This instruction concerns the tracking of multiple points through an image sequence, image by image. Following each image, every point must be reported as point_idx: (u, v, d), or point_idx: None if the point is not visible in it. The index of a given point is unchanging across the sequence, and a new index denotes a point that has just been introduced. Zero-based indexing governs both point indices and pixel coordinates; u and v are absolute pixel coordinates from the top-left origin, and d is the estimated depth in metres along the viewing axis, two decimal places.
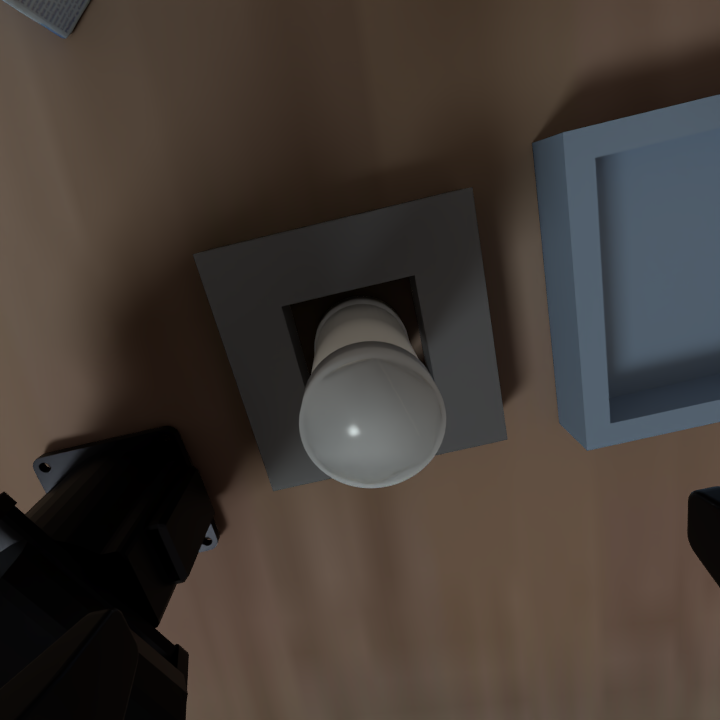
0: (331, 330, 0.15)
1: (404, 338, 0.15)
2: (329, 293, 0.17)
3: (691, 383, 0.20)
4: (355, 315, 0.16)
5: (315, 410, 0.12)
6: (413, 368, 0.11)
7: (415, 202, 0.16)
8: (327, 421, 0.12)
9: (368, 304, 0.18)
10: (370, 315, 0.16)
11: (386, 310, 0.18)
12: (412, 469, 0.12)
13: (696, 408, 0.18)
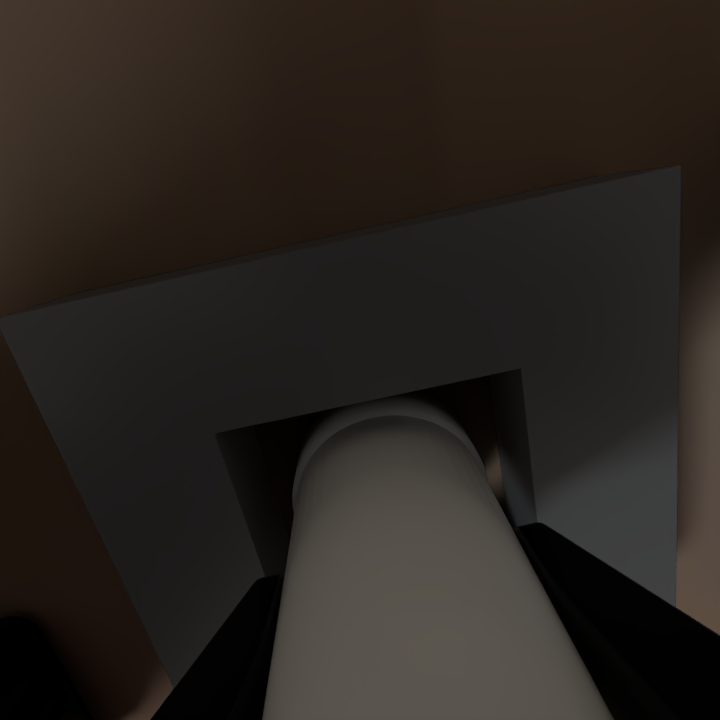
0: (327, 526, 0.06)
1: (528, 573, 0.05)
2: (324, 406, 0.07)
3: None
4: (387, 475, 0.06)
5: None
6: None
7: (538, 200, 0.06)
8: None
9: (408, 418, 0.08)
10: (425, 478, 0.06)
11: (446, 430, 0.08)
12: None
13: None
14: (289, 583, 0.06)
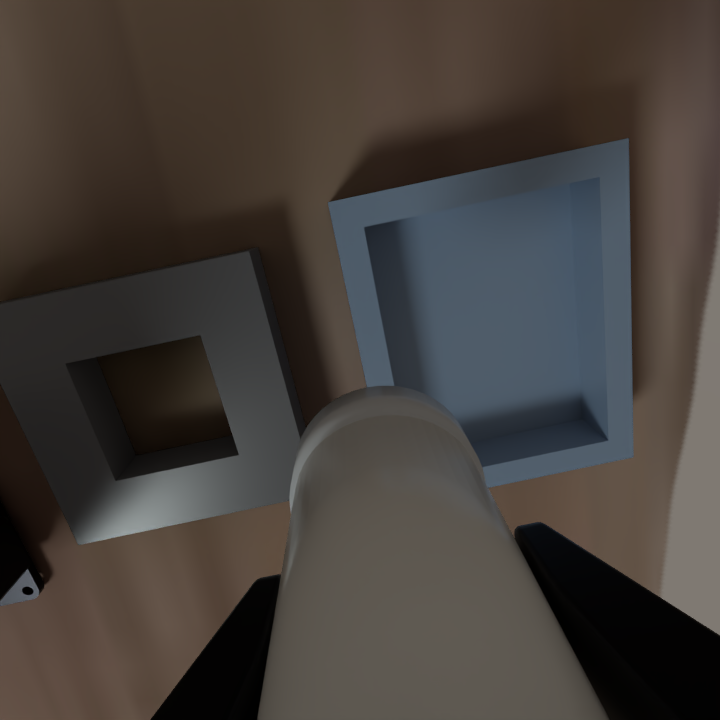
0: (324, 526, 0.06)
1: (525, 573, 0.05)
2: (113, 351, 0.16)
3: (506, 439, 0.20)
4: (384, 475, 0.06)
5: None
6: None
7: (192, 264, 0.16)
8: None
9: (406, 417, 0.08)
10: (422, 478, 0.06)
11: (443, 429, 0.08)
12: None
13: (497, 467, 0.18)
14: (285, 583, 0.06)
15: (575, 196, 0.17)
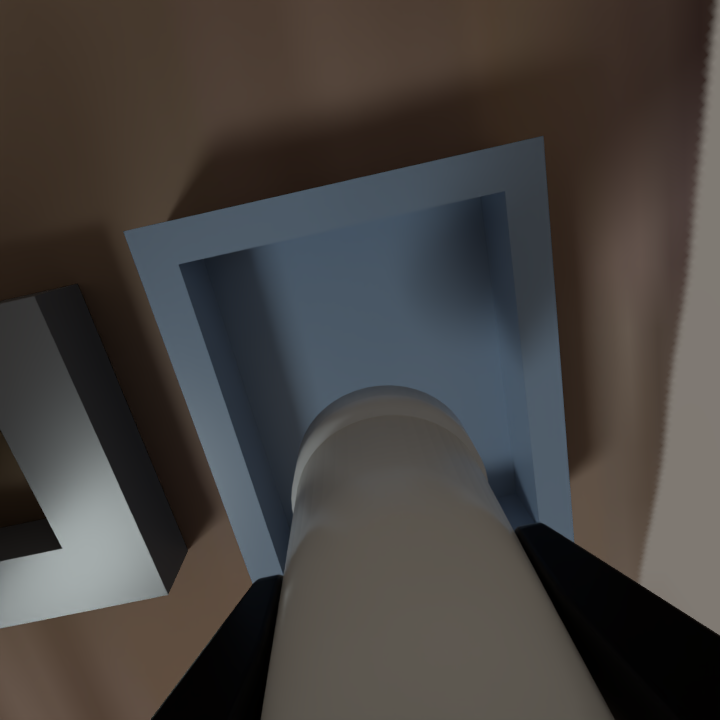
0: (326, 527, 0.06)
1: (529, 573, 0.05)
2: None
3: None
4: (387, 475, 0.06)
5: None
6: None
7: None
8: None
9: (408, 417, 0.08)
10: (425, 478, 0.06)
11: (446, 429, 0.08)
12: None
13: None
14: (288, 584, 0.06)
15: (486, 214, 0.12)
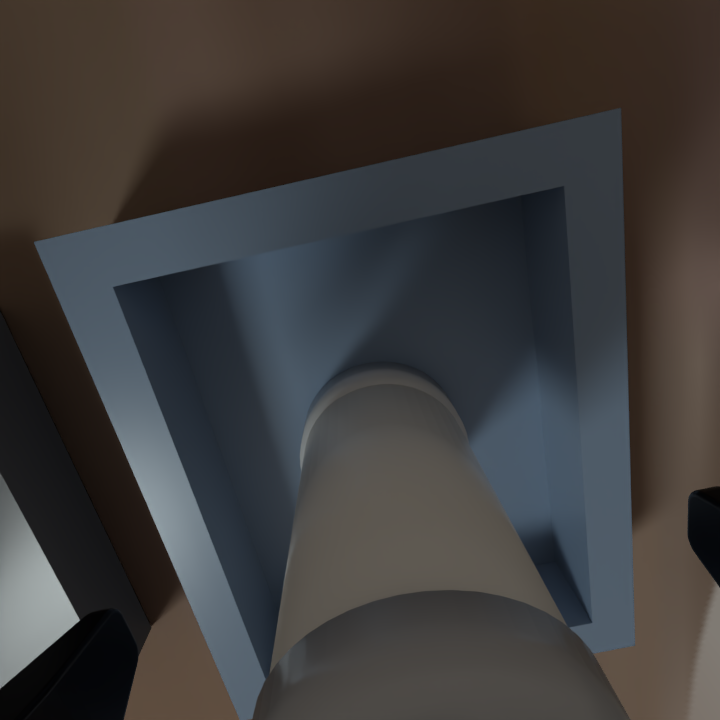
0: (331, 464, 0.07)
1: (491, 495, 0.07)
2: None
3: None
4: (380, 425, 0.08)
5: None
6: None
7: None
8: None
9: (399, 386, 0.10)
10: (411, 427, 0.08)
11: (432, 396, 0.10)
12: None
13: None
14: (300, 509, 0.07)
15: (529, 217, 0.09)
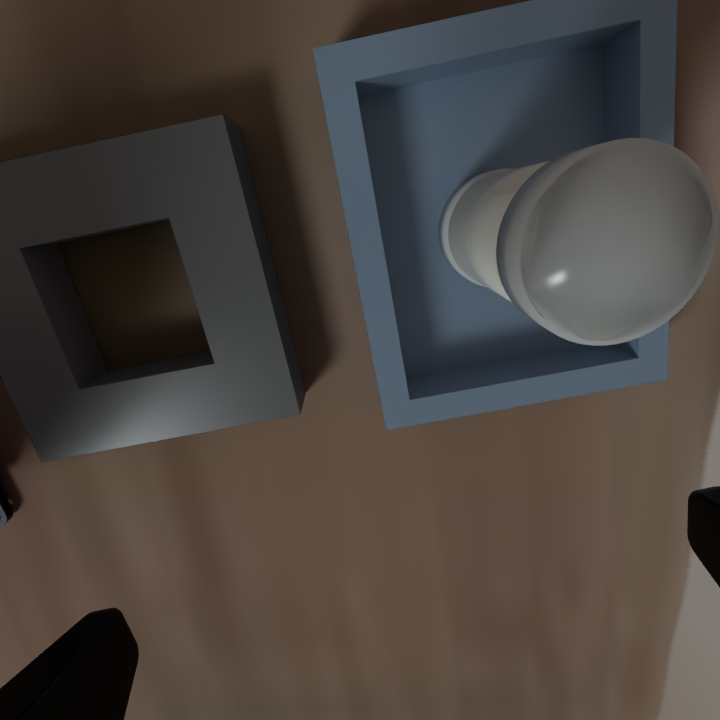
0: (497, 179, 0.12)
1: None
2: (72, 235, 0.15)
3: (519, 361, 0.17)
4: None
5: (543, 222, 0.08)
6: (687, 166, 0.08)
7: (158, 130, 0.14)
8: (555, 240, 0.09)
9: None
10: None
11: None
12: (654, 319, 0.09)
13: (507, 386, 0.16)
14: (479, 203, 0.12)
15: (608, 60, 0.14)
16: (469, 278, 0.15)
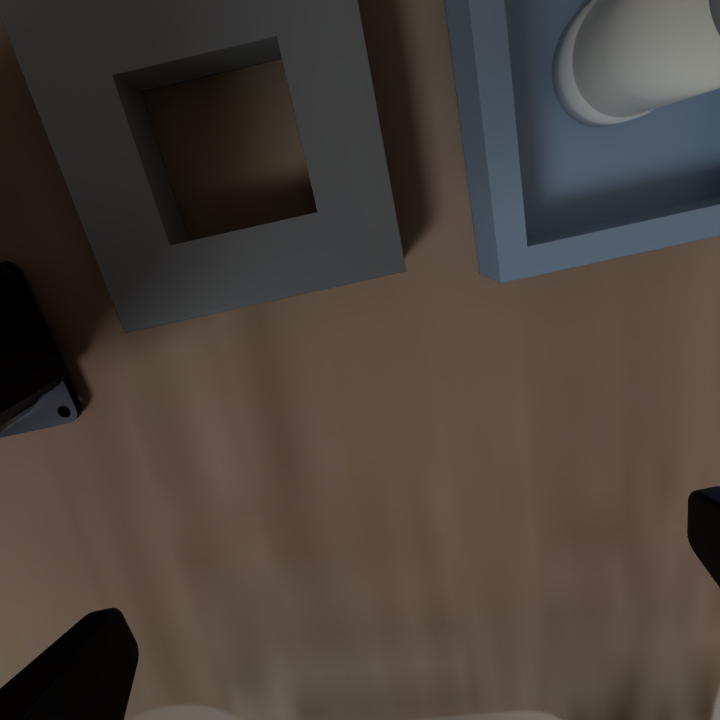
0: None
1: None
2: (171, 58, 0.13)
3: (631, 215, 0.16)
4: None
5: None
6: None
7: None
8: None
9: None
10: None
11: None
12: None
13: (632, 228, 0.15)
14: None
15: None
16: (591, 109, 0.14)
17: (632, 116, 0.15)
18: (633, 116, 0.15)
